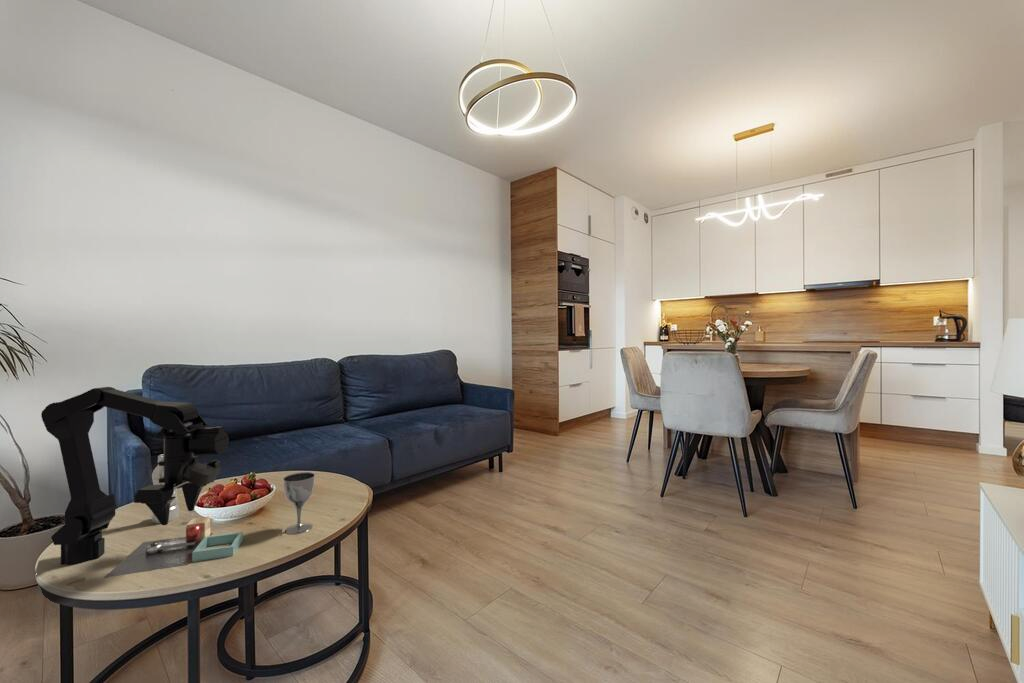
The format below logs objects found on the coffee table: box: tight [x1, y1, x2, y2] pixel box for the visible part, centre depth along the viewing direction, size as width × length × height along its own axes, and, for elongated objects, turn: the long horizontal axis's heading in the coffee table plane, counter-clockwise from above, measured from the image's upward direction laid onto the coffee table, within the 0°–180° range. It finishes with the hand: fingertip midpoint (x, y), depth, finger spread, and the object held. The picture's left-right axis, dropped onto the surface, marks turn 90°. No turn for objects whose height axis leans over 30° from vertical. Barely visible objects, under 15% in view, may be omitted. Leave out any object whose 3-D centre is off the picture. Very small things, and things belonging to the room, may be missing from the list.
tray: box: [191, 531, 244, 563], centre depth 103 cm, size 8×8×3 cm
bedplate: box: [104, 532, 214, 578], centre depth 101 cm, size 15×17×1 cm
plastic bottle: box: [150, 453, 180, 525], centre depth 120 cm, size 6×7×20 cm
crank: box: [146, 524, 201, 554], centre depth 103 cm, size 11×3×5 cm, turn 113°
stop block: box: [186, 516, 211, 543], centre depth 108 cm, size 4×4×5 cm
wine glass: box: [282, 471, 315, 535], centre depth 116 cm, size 8×8×15 cm
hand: (178, 517), depth 100 cm, fingers open, 8 cm apart
